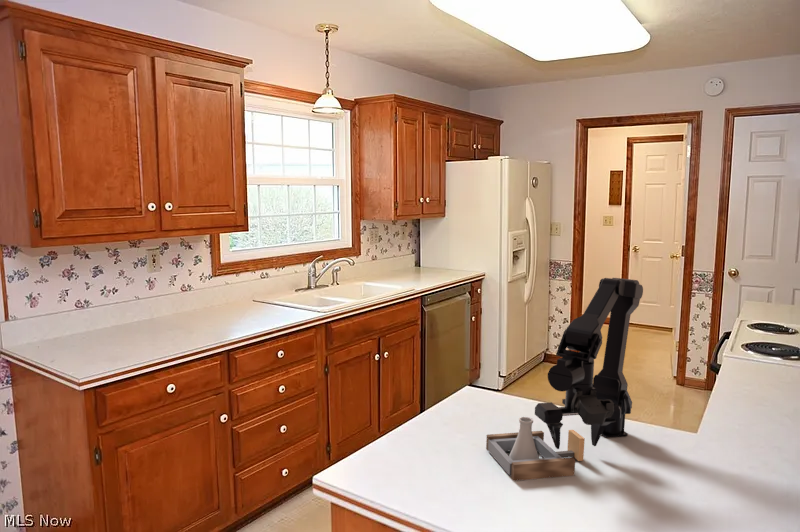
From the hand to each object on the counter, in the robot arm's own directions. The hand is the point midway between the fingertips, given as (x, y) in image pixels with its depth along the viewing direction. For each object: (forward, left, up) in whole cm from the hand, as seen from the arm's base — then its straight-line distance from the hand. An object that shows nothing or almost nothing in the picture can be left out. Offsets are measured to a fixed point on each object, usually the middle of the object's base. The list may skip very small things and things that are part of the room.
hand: (575, 446), depth 132 cm
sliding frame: (+9, 0, -2) cm, 9 cm away
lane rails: (+12, 0, -2) cm, 12 cm away
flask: (+13, 0, -3) cm, 13 cm away
